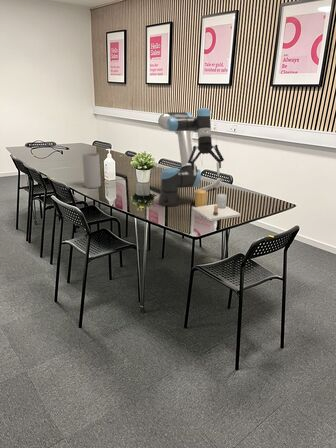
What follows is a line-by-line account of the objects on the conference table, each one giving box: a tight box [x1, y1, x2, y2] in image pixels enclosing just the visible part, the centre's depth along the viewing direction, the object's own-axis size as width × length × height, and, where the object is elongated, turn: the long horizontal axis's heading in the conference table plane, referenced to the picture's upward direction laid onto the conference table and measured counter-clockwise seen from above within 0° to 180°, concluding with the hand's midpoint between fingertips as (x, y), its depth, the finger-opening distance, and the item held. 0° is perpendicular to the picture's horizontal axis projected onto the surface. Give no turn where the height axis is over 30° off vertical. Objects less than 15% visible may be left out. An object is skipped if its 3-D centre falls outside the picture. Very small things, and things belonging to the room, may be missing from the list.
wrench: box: [194, 177, 224, 195], centre depth 257 cm, size 8×2×30 cm
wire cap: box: [194, 189, 208, 207], centre depth 224 cm, size 7×7×10 cm
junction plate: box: [191, 193, 242, 222], centre depth 211 cm, size 22×22×10 cm
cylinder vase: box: [81, 152, 102, 189], centre depth 261 cm, size 12×12×25 cm
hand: (206, 174), depth 191 cm, fingers open, 13 cm apart
